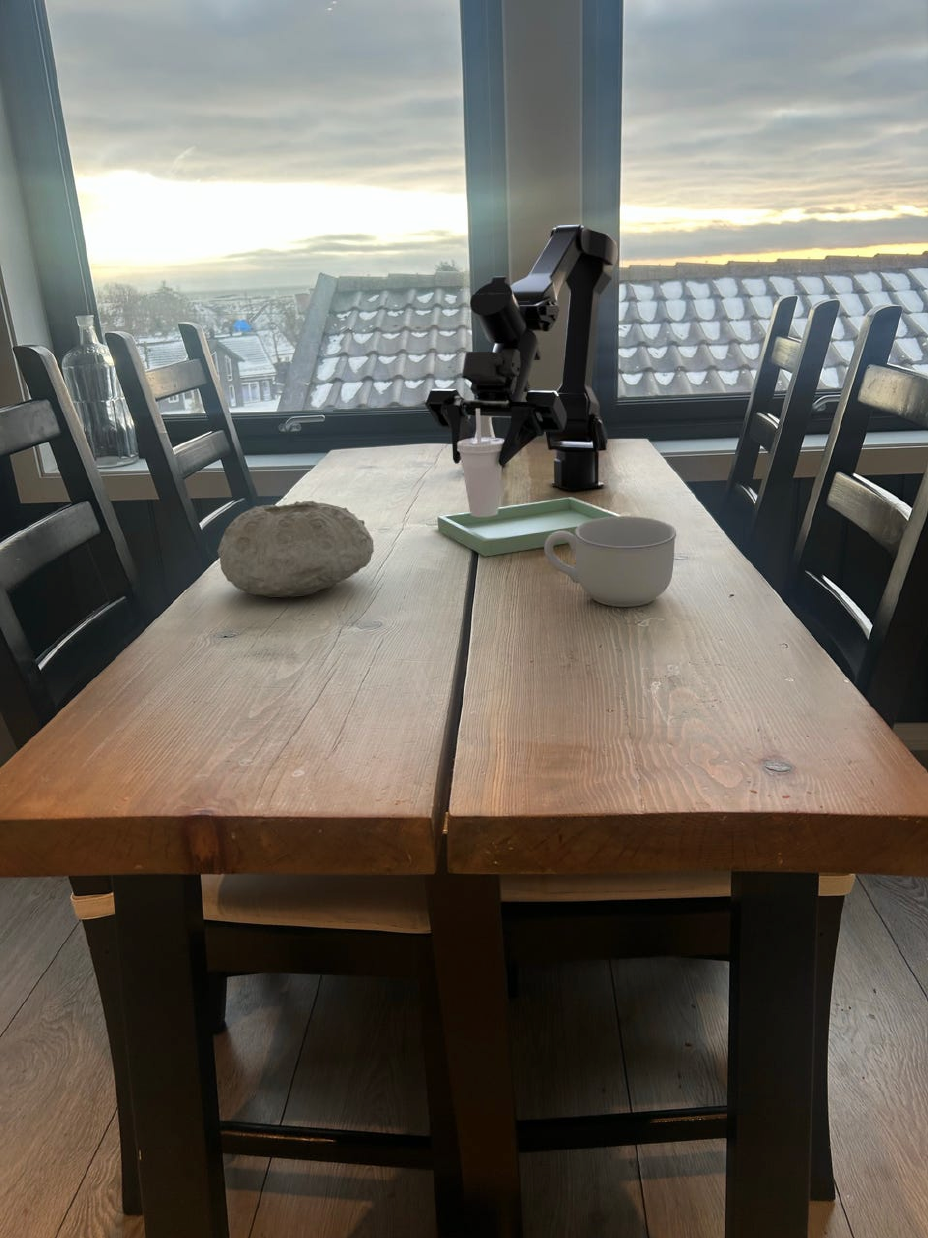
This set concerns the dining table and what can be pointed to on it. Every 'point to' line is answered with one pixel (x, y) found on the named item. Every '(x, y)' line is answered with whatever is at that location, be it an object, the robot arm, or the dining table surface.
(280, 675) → the dining table surface
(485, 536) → the tray
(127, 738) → the dining table surface
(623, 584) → the teacup
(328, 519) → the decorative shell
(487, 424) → the flask
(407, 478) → the dining table surface
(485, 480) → the smoothie
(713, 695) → the dining table surface
